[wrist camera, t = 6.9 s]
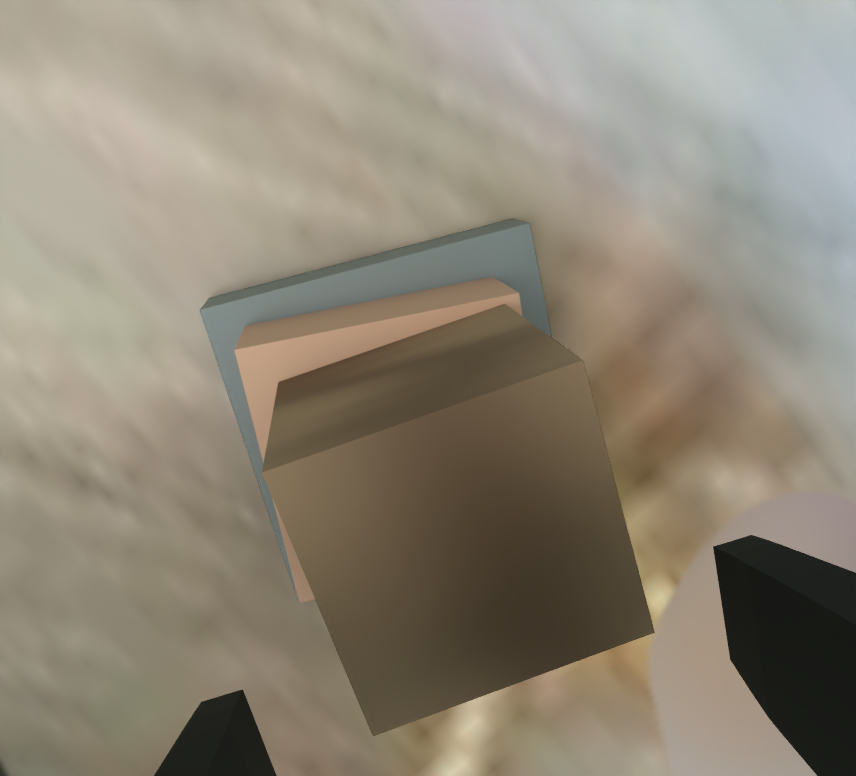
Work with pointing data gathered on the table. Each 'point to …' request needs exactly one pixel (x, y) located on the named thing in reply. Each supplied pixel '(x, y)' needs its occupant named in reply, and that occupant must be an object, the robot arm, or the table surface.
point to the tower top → (346, 349)
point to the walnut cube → (454, 514)
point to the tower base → (365, 281)
